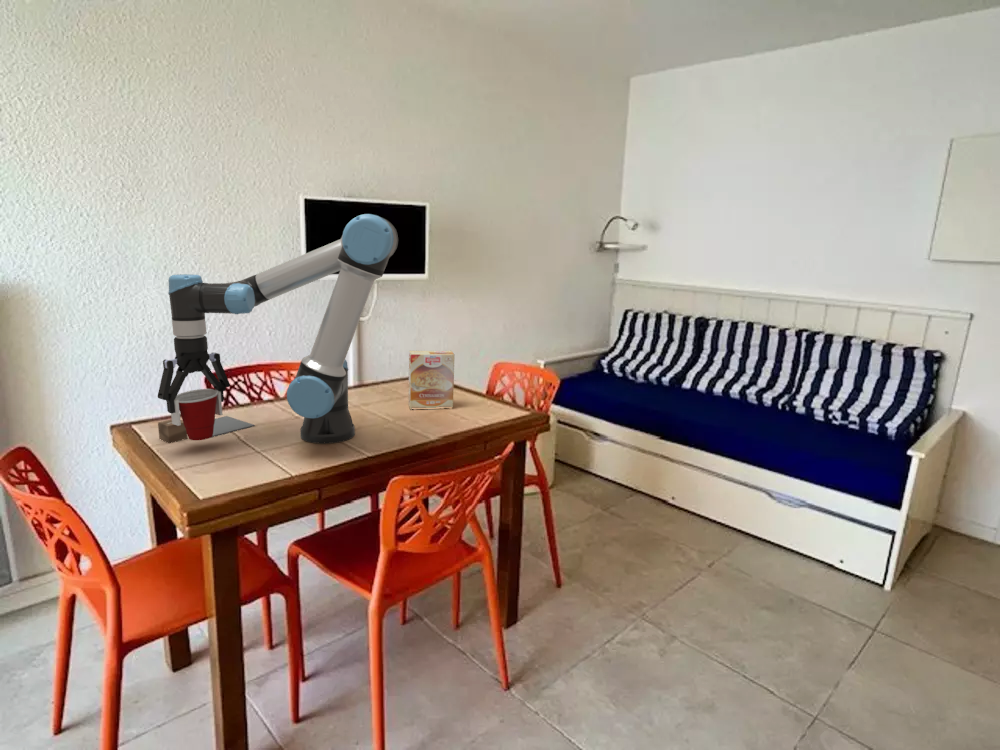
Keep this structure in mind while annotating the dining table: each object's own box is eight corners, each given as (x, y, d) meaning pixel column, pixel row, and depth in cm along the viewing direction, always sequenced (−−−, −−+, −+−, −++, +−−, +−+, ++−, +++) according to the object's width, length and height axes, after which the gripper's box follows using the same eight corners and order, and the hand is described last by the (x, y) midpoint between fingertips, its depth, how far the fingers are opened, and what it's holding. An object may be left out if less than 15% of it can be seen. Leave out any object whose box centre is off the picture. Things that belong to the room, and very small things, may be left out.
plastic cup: (170, 436, 155) (166, 392, 153) (213, 428, 163) (210, 386, 160) (184, 447, 148) (179, 401, 145) (228, 438, 155) (225, 394, 153)
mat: (254, 426, 176) (254, 424, 176) (210, 437, 165) (210, 436, 165) (226, 417, 184) (226, 415, 184) (182, 427, 172) (182, 426, 172)
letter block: (187, 438, 163) (185, 421, 162) (169, 443, 159) (167, 425, 158) (177, 435, 166) (176, 417, 165) (159, 439, 162) (157, 421, 161)
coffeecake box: (409, 410, 200) (410, 354, 195) (408, 404, 206) (408, 350, 202) (453, 409, 203) (455, 353, 199) (450, 403, 210) (451, 350, 206)
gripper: (223, 329, 161) (230, 407, 166) (134, 340, 142) (144, 427, 147) (240, 332, 157) (246, 411, 162) (151, 343, 138) (160, 433, 143)
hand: (198, 419), depth 154 cm, fingers closed on plastic cup, 11 cm apart
